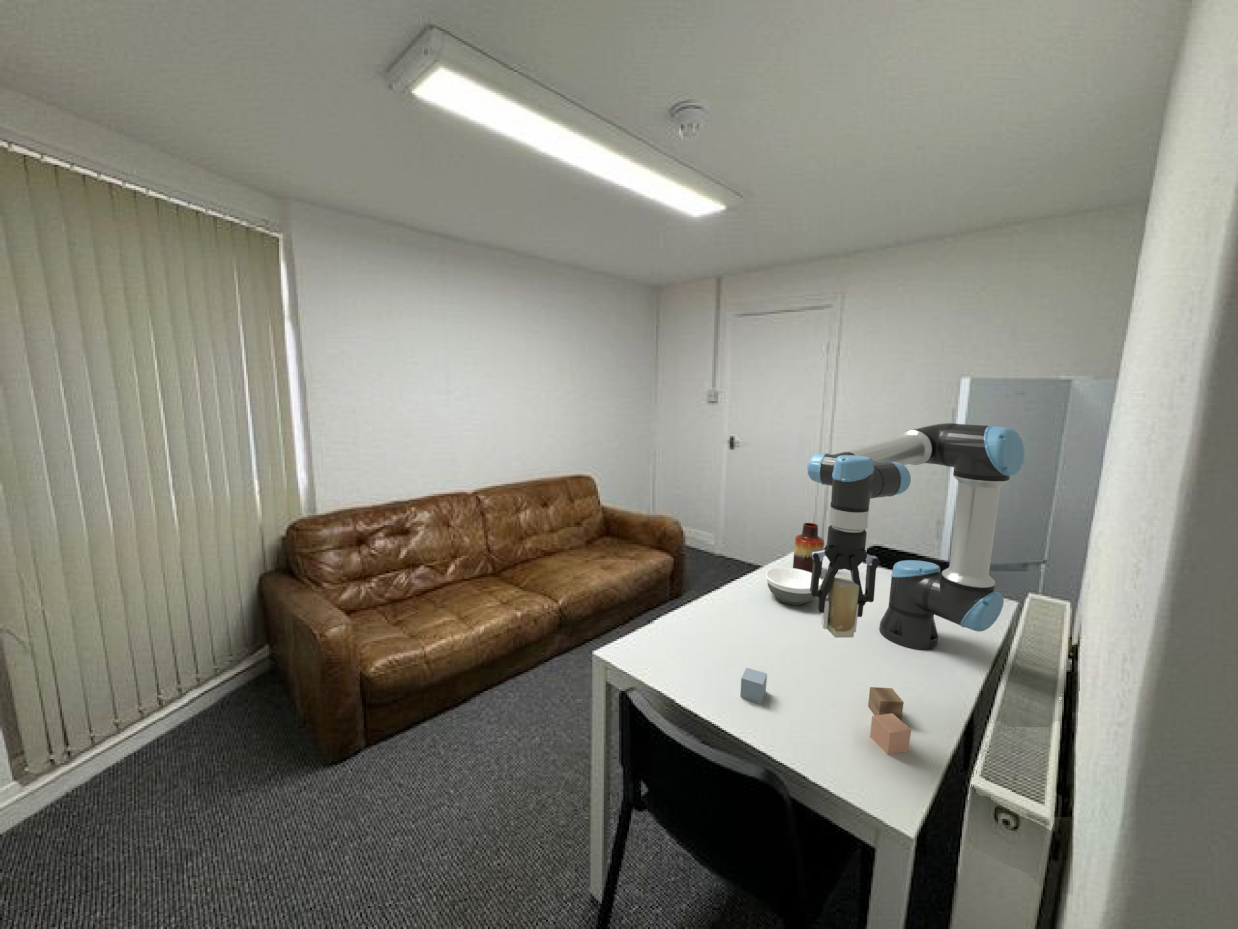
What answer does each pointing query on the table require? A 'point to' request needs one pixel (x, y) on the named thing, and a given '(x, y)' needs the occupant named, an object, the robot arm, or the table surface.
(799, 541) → the vase
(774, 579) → the bowl
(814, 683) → the table surface
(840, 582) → the skincare box
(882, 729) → the terracotta cube
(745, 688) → the slate cube
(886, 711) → the walnut cube
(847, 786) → the table surface
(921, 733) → the table surface
